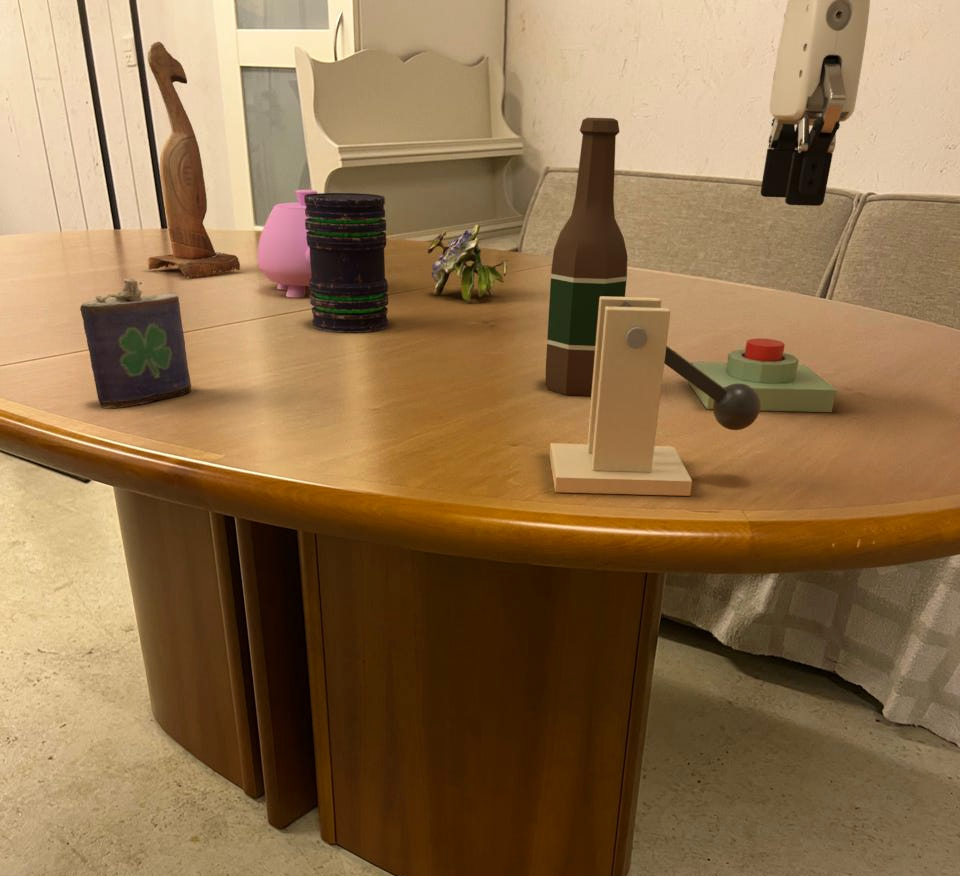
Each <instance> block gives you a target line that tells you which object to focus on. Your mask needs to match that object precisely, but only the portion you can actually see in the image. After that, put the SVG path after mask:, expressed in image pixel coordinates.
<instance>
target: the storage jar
mask: <svg viewBox="0 0 960 876" xmlns="http://www.w3.org/2000/svg"><path fill="white" fill-rule="evenodd" d="M304 200H305V204H306V209H305V215H306V217H309V218H307V219H305V226H306V227H305V229H306V230H309V231H308V232H306V235H307V238H306V240H307V245H308V246H309V248H310V263H311V279H310V281H309V284H310V285H309V286H308V288H309V292H310V294H309V301H310V302H309V305H310V306H312V307H311V313H312V317H313V319H312V326H313V328H315V329H317V330H321V331H324V332H331V333H345V334H346V333H347V334H351V333H353V334H354V333H355V334H356V333H369V332H376V331H381V330H384V329H386V328H387V327H388V326H389V320H388V318H387V316H388V315H387V314H388V312H389V310H388V307H387V306H389V294H388V291H389V285H388V280H387V278H386V267H385V266H386V265H385V261H386V260H385V248H386V247H387V240H388V238H387V233H386V232H385V231H387V219H384V218H386V210H385V205H386V197H385V196H384V195H380V194H372V193H358V192H357V193H356V192H355V193H353V192H349V193H348V192H323V193H322V192H321V193H320V192H319V193H317V194H308V195H305V196H304Z"/></svg>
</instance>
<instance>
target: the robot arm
mask: <svg viewBox="0 0 960 876" xmlns="http://www.w3.org/2000/svg"><path fill="white" fill-rule="evenodd" d="M870 6H871V0H787V3H786V7H785V12H784V15H783V23H782V27H781V33H780V38H779V44H778V48H777V54H776V60H775V66H774V72H773V77H772V85H771V92H770V101H769V112H770V114H771V116H773V119H772V120H771V121H772V122H771V131H770V134H769V137H768V142H767V148H766V156H765V162H764V168H763V174H762V181H761V188H760V195H761V196H762V197H764V198H784V202H785V204H786V205H789V206H808V207H809V206H811V207H819V206H822V205H823V204H824V202H825V197H826V192H827V186H828V181H829V175H830V171H831V167H832V166H831V165H832V162H833V161H832V160H833V153H834V151H835V148H836V142H837V141H836V140H837V139H836V138H837V131H839V129H840V126H841V123H840V122H845V121H847V120H848V119H849V118H851V117H852V115H853V114H854V112H855V108H856V103H857V96H858V91H859V85H860V79H861V73H862V66H863V60H864V52H865V47H866V41H867V32H868V26H869V18H870ZM795 125H796V127H795ZM811 126H812V127H811ZM810 127H811V129H810Z"/></svg>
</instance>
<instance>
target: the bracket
mask: <svg viewBox="0 0 960 876" xmlns="http://www.w3.org/2000/svg"><path fill="white" fill-rule="evenodd" d="M624 301H626V302H627V303H628V304H630V305H631V306H632V307H621V305H622V304H623V302H624ZM670 319H671V310H670V308H668V307H662V299H661V298H659V297H643V296H642V297H637V296H625V297H607V296H601V297H600V298H599V310H598V322H597V334H596V346H595V358H594V370H593V382H592V394H591V396H590V408H589V417H588V418H589V419H588V430H587V431H588V432H587V441H586V443H560V442H559V443H557V442H551V443H550V445H549V449H550V450H549V461H550V468H551V474H552V480H553V481H552V482H553V486H554V492H555V493H568V494H601V495H602V494H606V495H638V496H639V495H642V496H643V495H645V496H681V497H689V496H691V491H692V485H693V480H692V478H691V476H690V474H689V472H688V470H687V468H686V467H685V465H684V463H683V461H682V459H681V457H680V455H679V453H678V451H677V450H676V448H675V446H674V445H673V446H669V445H655V444H656V437H657V427H658V418H659V411H660V402H661V393H662V387H663V377H664V368H665V364H664V362H665V353H666V345H667V344H668V337H669V327H670ZM667 346H668V345H667Z"/></svg>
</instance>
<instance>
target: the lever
mask: <svg viewBox="0 0 960 876" xmlns="http://www.w3.org/2000/svg"><path fill="white" fill-rule="evenodd" d="M621 307H632V306H631V305H630V304H628V303H627V302H626V301H624V302H623V304H622V305H621ZM664 365H665V366H667V367H668V368H669V369H671V370H672V371H674V372H675V373H677V374H678V375H680V377H682V378H683V379H685V380H686V381H687V382H688V381H689V382H690V383H692V384H693V385H694V386H696V387H697V388H699V389H700V390H701V391H703V392H704V393H705V394H707V395H708V396H709V397H711V398H712V399H714V400H715V401H714V405H713V409H712V410H713V416H714V418H715V420H716V422H717V423H718V424H719V425H720V426H721V427H723V428H724V429H726V430H731V431H740V430H744V429H747V428H748V427H750V426H752V425H753V423H754V422H755V421H756V420H757V419H758V417H759V415H760V399H759V396H758V394H757V392H756V391H755V390H754V389H753V388H752V387H750V386H748V385H746V384H742V383H735V384H731V385H728V386H726V387H725V388H723V387H722V386H721V385H719V384H718V383H717V382H715V381H714V380H713V379H711V378H710V377H709V376H707V375H706V374H704V373H703V372H702V371H700V370H699V369H698V368H696V367H695V366H694V365H692V364H691V361H689V360H687V359H686V358H684V357H683V356H682V355H680V354H678V353H677V352H676V351H675V350H673V349H672V348H671V347H669V346H668V345H666V353H665V362H664Z"/></svg>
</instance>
